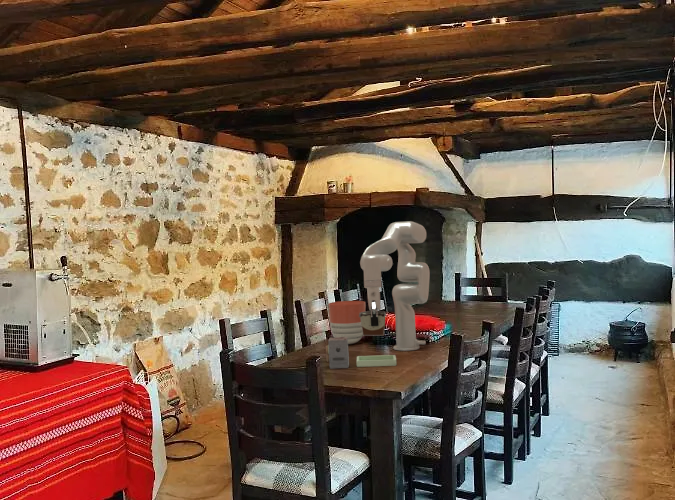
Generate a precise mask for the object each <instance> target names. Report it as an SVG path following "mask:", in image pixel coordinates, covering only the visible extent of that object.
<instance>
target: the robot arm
mask: <svg viewBox="0 0 675 500" xmlns="http://www.w3.org/2000/svg"><path fill="white" fill-rule="evenodd" d="M426 239H427V230H426V229H425V227H424V226H423V225H422V224H420V223H418V222H414V221H412V220H410V221H395V222H392V223H390V224H389V225H388V226H387V228H386V230H385V232H384V234H383V236H382V237H381V239H379V240H377V241H375V242H374V243H371V244H370V245H369V246H368V247H366V249H364V252H363V254H362V255H361V257H360V261H359V264H360V268H361V269H362V271H363V286H364V287H363V288H365V289H366V291H367V294H366V295H367V303H368V309H369V310H368V311H371V326H378V316H377V311H382V310H381V309H382V308H381V291H380V290H381V289H380V288H382V272H387V271H389V270H391V268H392V266H393V259H392V257H391V256H390V255H391V254H392V253H394V252H396V251H397V256H398V258H397V259H398V262H397V268H396V269H397V273H396V274H397V275H396V276H397V279H398V280H399V281H400V282H405V283H400V284H399V283H398V284H396V285H394V286H393V288H392V291H391V295H392V300H393V304H394V305H393V306H394V319H395V320H394V321H395V335H396V336H395V339H396V340H395V341H396V344H395V345H394V346H393V349H394V350H395V351H400V352H401V351H405V352H408V351H416V350H419V349H420V345H422V346H423V345H426V340H421V339H420V340H418V339H417V337H416V334H417V333H416V314H415V309H414V308H413V306H412V305H413V304H414V305H415V304H417V305H418V304H421V305H423V304H425V303H427V301H428V299H429V292H430V290H429V289H430V271H431V270H430V268H429V267H430V266H428V264H427V263H426V262H424V261H423V262H421V261H420V262H419V261H416V259H417V258H416V257H417V253H416V251H415V249H414V248H413V247H412V245H410V244H422V243H424V242H425V241H426ZM389 254H390V255H389ZM415 282H416V283H415ZM411 304H412V305H411Z"/></svg>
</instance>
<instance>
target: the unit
mask: <svg viewBox="0 0 675 500" xmlns="http://www.w3.org/2000/svg"><path fill="white" fill-rule="evenodd" d="M327 345H328V353H329V362H328V363H329V369H330V370H331V369H335V370H336V369H349V366H350V360H349V359H350V357H349V356H350V355H349V344H348V337H334V336H333V337H329V339H328V343H327Z"/></svg>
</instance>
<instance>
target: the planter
mask: <svg viewBox="0 0 675 500" xmlns="http://www.w3.org/2000/svg"><path fill="white" fill-rule="evenodd" d="M366 306H367V305H366V301H363V300H342V301H341V300H340V301H339V300H338V301H334V302H332V301H331V302H328V314H329V324H330V325H329V326H330V331H331V333H332V336H333V337H348V345H353V344H356V343H358V342H359V341H360V340H361V339H362V338H363V332H362V326H361V319H360V317H359V314H360V312H365V311H366Z"/></svg>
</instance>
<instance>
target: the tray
mask: <svg viewBox="0 0 675 500" xmlns="http://www.w3.org/2000/svg"><path fill="white" fill-rule="evenodd" d="M355 364H356V367H357V368H364V367H365V368H368V367H369V368H370V367H395V366H397V356H396V354H382V355H381V354H380V355H379V354H378V355H358V356H356V363H355Z"/></svg>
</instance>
